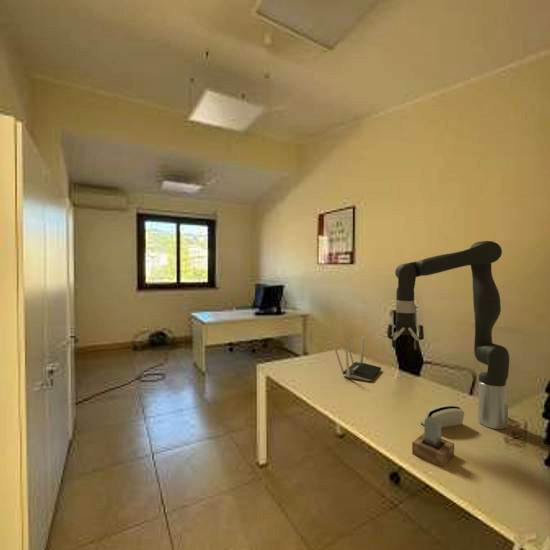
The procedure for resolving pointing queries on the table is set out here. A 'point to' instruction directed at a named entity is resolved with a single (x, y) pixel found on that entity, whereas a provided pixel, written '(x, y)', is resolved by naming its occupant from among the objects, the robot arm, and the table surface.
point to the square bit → (433, 432)
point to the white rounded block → (446, 415)
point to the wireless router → (358, 366)
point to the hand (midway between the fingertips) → (405, 348)
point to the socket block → (433, 451)
